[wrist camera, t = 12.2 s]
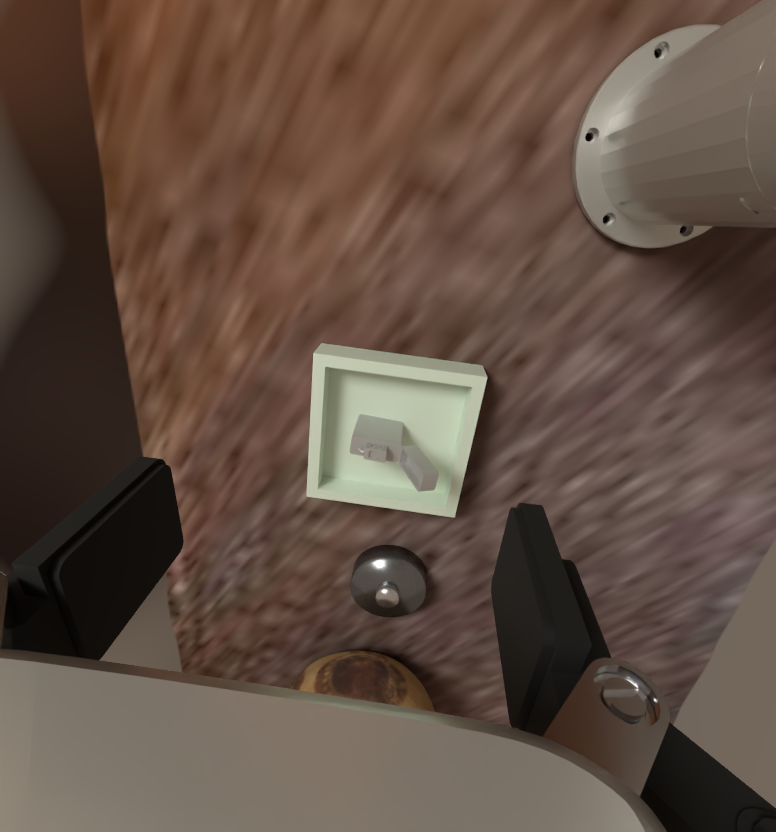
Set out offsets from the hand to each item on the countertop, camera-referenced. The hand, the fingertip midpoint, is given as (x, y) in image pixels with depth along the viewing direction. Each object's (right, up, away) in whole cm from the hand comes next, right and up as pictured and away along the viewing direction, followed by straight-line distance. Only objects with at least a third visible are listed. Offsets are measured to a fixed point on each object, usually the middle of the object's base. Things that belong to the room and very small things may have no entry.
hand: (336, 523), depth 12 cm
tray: (+2, +2, +28) cm, 28 cm away
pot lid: (+2, -14, +36) cm, 39 cm away
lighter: (+2, +2, +27) cm, 28 cm away
